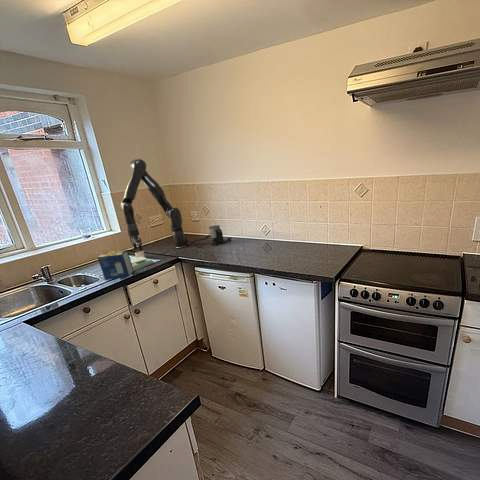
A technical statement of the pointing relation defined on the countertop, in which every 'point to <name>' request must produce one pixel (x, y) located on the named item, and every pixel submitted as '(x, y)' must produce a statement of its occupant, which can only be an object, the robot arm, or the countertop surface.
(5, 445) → the countertop surface
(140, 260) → the scale
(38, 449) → the countertop surface
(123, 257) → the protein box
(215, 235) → the milk frother
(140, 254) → the beige cup
